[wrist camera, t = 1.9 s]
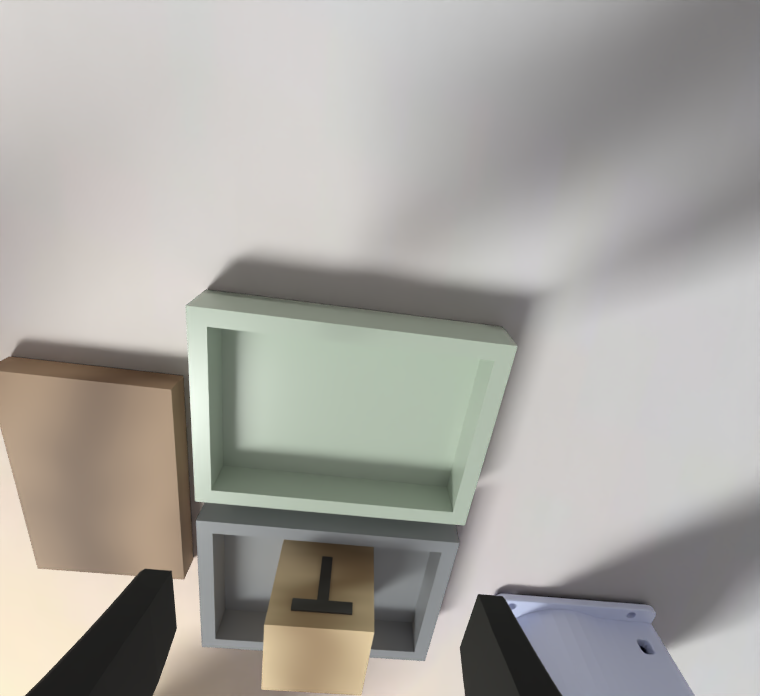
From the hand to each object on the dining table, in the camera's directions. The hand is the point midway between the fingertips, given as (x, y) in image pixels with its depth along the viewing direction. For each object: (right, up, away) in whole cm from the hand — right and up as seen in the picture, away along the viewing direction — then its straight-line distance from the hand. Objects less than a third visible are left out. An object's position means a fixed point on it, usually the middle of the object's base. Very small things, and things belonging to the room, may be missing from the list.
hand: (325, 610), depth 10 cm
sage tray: (0, +4, +9) cm, 9 cm away
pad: (-11, +1, +10) cm, 15 cm away
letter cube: (-2, -5, +12) cm, 13 cm away
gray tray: (-2, -5, +13) cm, 14 cm away
